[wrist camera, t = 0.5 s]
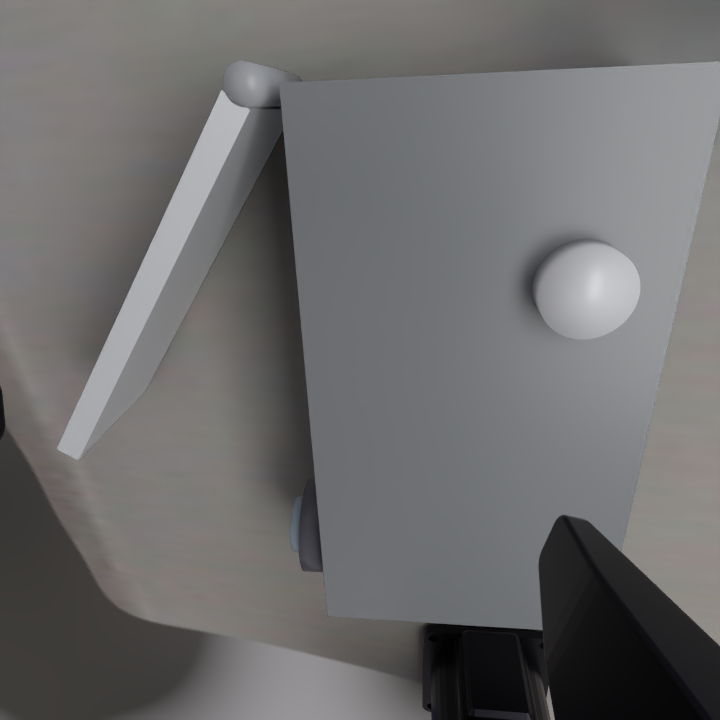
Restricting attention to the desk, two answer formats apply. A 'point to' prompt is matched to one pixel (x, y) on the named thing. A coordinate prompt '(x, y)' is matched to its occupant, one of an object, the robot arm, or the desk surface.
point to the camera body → (483, 319)
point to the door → (183, 247)
